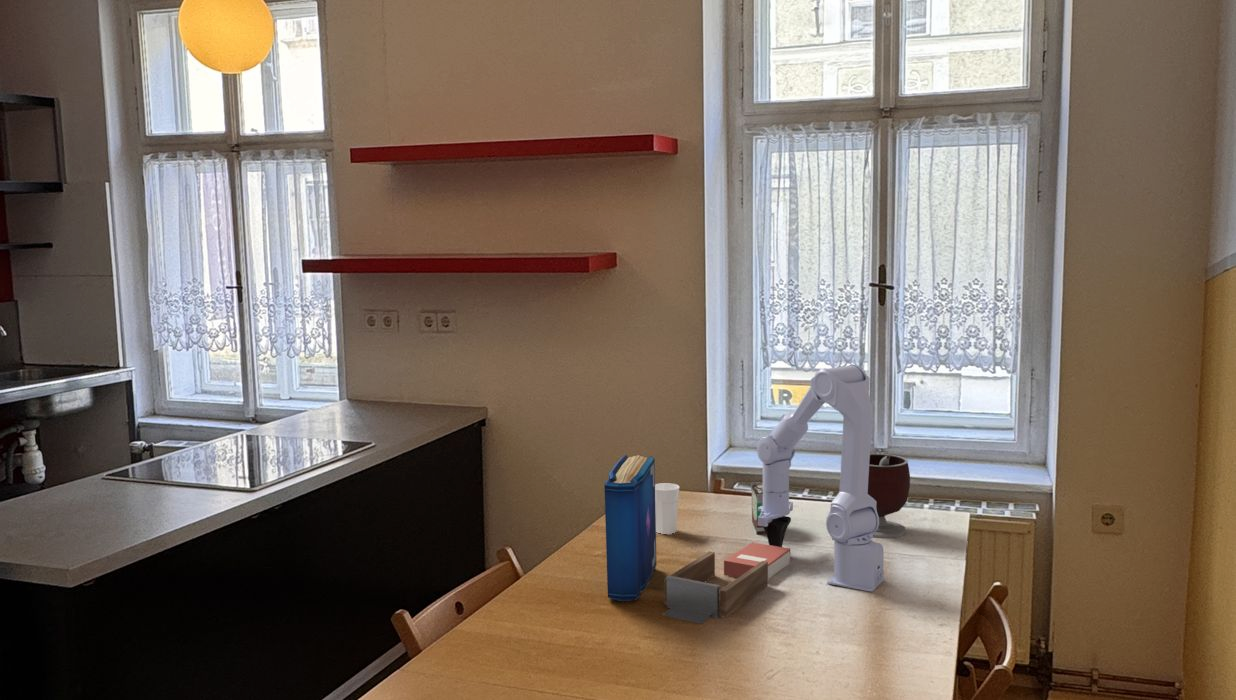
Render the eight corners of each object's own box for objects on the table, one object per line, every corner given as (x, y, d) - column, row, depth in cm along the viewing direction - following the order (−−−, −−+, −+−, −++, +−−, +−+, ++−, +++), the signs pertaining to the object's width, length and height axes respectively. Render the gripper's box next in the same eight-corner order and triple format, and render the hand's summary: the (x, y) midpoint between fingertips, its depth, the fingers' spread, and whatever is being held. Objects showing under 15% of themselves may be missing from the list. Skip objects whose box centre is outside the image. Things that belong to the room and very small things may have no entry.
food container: (783, 536, 233) (783, 494, 232) (757, 536, 233) (757, 494, 232) (776, 520, 245) (776, 481, 244) (751, 521, 245) (751, 481, 244)
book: (639, 606, 191) (636, 479, 188) (603, 604, 193) (600, 478, 190) (657, 568, 212) (655, 454, 209) (624, 566, 214) (622, 453, 211)
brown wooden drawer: (767, 585, 201) (767, 561, 200) (725, 617, 185) (725, 591, 184) (709, 574, 208) (709, 551, 207) (664, 604, 192) (664, 579, 191)
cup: (647, 529, 240) (646, 485, 238) (671, 525, 242) (671, 481, 241) (660, 537, 234) (659, 491, 232) (684, 533, 237) (684, 488, 235)
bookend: (719, 616, 185) (719, 585, 185) (707, 625, 181) (707, 593, 181) (669, 605, 191) (669, 575, 191) (656, 614, 187) (655, 583, 186)
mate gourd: (843, 521, 243) (844, 441, 241) (901, 521, 243) (902, 441, 240) (856, 541, 228) (857, 456, 226) (917, 541, 227) (919, 455, 225)
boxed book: (790, 564, 215) (790, 548, 214) (764, 584, 203) (764, 567, 202) (752, 557, 219) (752, 541, 219) (724, 576, 208) (723, 560, 207)
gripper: (772, 480, 227) (772, 538, 228) (744, 495, 215) (745, 556, 216) (801, 484, 223) (801, 542, 224) (775, 499, 211) (775, 561, 212)
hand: (775, 549), depth 220 cm, fingers closed
